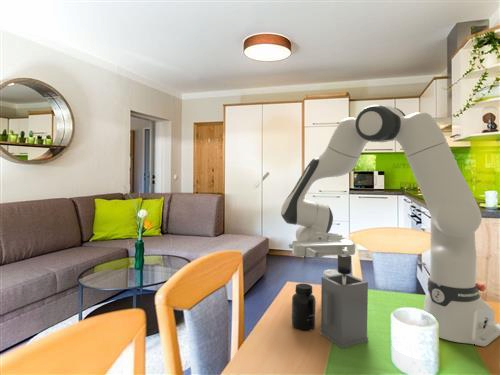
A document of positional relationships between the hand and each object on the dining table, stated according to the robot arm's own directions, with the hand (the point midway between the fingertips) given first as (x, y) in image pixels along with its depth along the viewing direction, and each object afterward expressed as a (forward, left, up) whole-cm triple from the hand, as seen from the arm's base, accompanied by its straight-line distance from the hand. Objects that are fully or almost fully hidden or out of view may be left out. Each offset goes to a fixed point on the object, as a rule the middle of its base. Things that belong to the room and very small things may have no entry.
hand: (331, 254), depth 99 cm
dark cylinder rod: (+3, +9, -15) cm, 18 cm away
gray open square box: (+3, +9, -20) cm, 23 cm away
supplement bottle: (+10, 0, -21) cm, 23 cm away
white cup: (-11, -12, -21) cm, 26 cm away
